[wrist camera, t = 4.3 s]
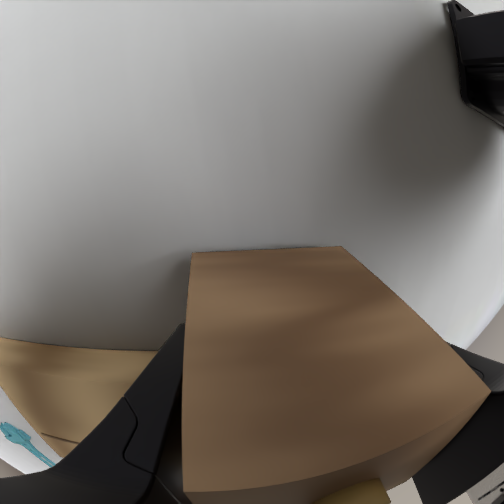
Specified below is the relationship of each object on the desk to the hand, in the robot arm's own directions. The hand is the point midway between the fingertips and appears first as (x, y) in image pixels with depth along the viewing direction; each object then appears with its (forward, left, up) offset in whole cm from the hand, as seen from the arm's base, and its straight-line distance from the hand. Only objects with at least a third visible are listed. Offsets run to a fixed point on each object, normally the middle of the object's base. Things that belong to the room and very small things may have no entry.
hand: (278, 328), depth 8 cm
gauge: (0, +4, -2) cm, 4 cm away
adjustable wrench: (+21, +21, -3) cm, 30 cm away
